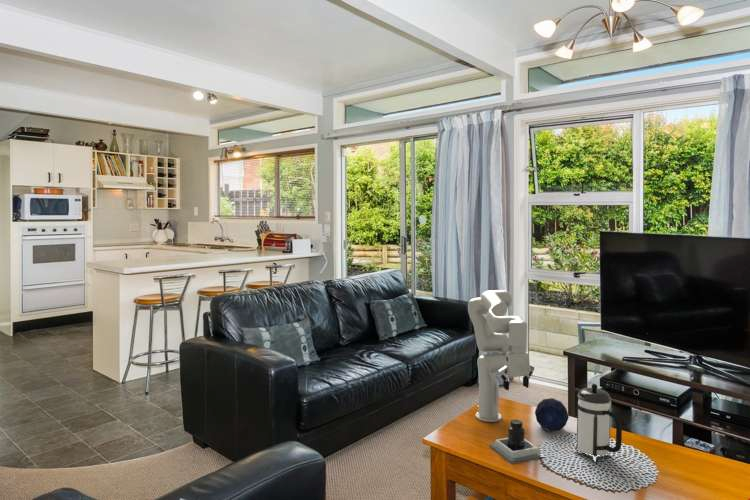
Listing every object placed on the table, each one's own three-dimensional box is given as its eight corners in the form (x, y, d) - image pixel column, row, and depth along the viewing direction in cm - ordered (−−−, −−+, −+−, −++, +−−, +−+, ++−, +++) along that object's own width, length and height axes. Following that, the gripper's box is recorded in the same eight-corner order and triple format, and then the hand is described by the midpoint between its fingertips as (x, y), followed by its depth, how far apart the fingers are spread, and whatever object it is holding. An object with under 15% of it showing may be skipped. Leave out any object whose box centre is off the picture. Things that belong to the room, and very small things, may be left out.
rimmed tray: (489, 446, 215) (489, 438, 215) (520, 441, 220) (521, 433, 220) (511, 463, 200) (511, 455, 200) (544, 457, 205) (544, 449, 205)
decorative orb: (580, 421, 229) (563, 390, 235) (560, 429, 220) (543, 397, 227) (558, 431, 238) (543, 401, 245) (538, 439, 230) (523, 408, 237)
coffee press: (573, 460, 202) (575, 388, 201) (573, 444, 217) (574, 376, 215) (620, 468, 196) (623, 393, 194) (617, 451, 211) (619, 381, 209)
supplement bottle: (525, 453, 206) (525, 425, 206) (508, 452, 208) (508, 424, 207) (523, 446, 213) (523, 418, 212) (507, 445, 214) (507, 417, 214)
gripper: (504, 353, 207) (503, 393, 208) (539, 349, 212) (538, 388, 214) (494, 348, 214) (493, 387, 215) (529, 344, 219) (527, 382, 221)
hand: (515, 387), depth 215 cm, fingers open, 9 cm apart
